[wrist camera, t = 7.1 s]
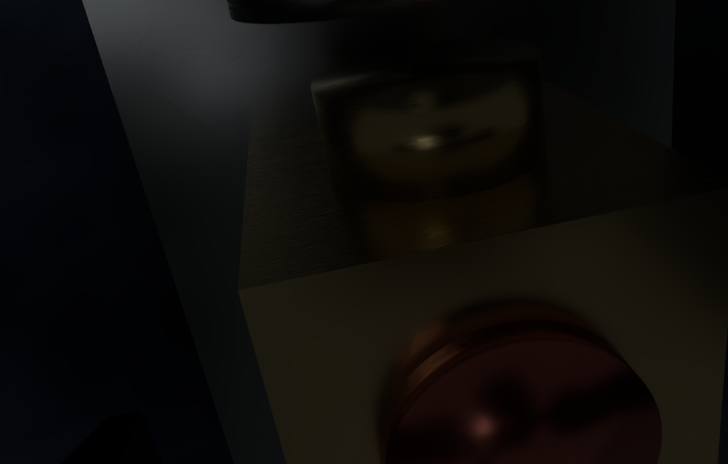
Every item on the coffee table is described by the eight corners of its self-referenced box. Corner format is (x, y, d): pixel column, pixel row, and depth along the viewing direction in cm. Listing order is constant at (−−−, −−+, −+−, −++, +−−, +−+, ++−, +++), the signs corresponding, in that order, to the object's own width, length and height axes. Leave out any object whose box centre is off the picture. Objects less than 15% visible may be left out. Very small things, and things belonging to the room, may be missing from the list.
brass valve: (562, 381, 14) (729, 636, 9) (321, 435, 14) (353, 728, 9) (544, 5, 11) (784, 76, 6) (230, 66, 11) (199, 193, 6)
